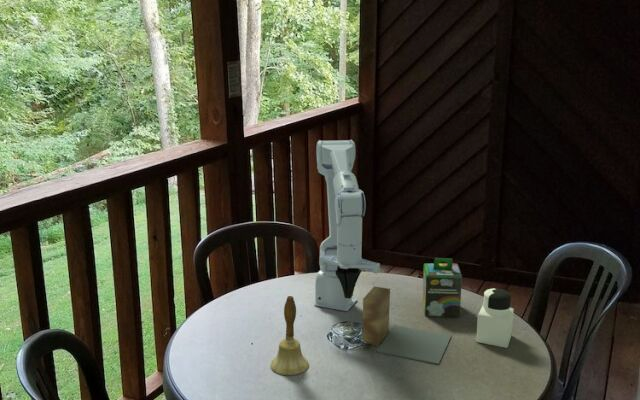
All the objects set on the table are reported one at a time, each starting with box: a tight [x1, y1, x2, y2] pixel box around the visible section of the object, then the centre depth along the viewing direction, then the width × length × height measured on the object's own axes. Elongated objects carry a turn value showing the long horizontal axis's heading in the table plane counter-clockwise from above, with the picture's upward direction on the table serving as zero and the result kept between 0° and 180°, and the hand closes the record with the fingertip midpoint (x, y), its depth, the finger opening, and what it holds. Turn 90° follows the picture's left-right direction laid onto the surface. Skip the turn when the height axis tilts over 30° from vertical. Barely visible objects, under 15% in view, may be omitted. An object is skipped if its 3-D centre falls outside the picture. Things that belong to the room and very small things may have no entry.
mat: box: [376, 324, 452, 366], centre depth 136 cm, size 14×14×1 cm
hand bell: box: [270, 295, 310, 376], centre depth 125 cm, size 8×8×16 cm
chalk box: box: [422, 257, 463, 318], centre depth 153 cm, size 9×9×15 cm
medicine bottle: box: [475, 287, 515, 349], centre depth 138 cm, size 7×7×12 cm
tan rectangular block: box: [361, 286, 391, 347], centre depth 139 cm, size 4×8×11 cm, turn 157°
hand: (348, 296), depth 140 cm, fingers closed
